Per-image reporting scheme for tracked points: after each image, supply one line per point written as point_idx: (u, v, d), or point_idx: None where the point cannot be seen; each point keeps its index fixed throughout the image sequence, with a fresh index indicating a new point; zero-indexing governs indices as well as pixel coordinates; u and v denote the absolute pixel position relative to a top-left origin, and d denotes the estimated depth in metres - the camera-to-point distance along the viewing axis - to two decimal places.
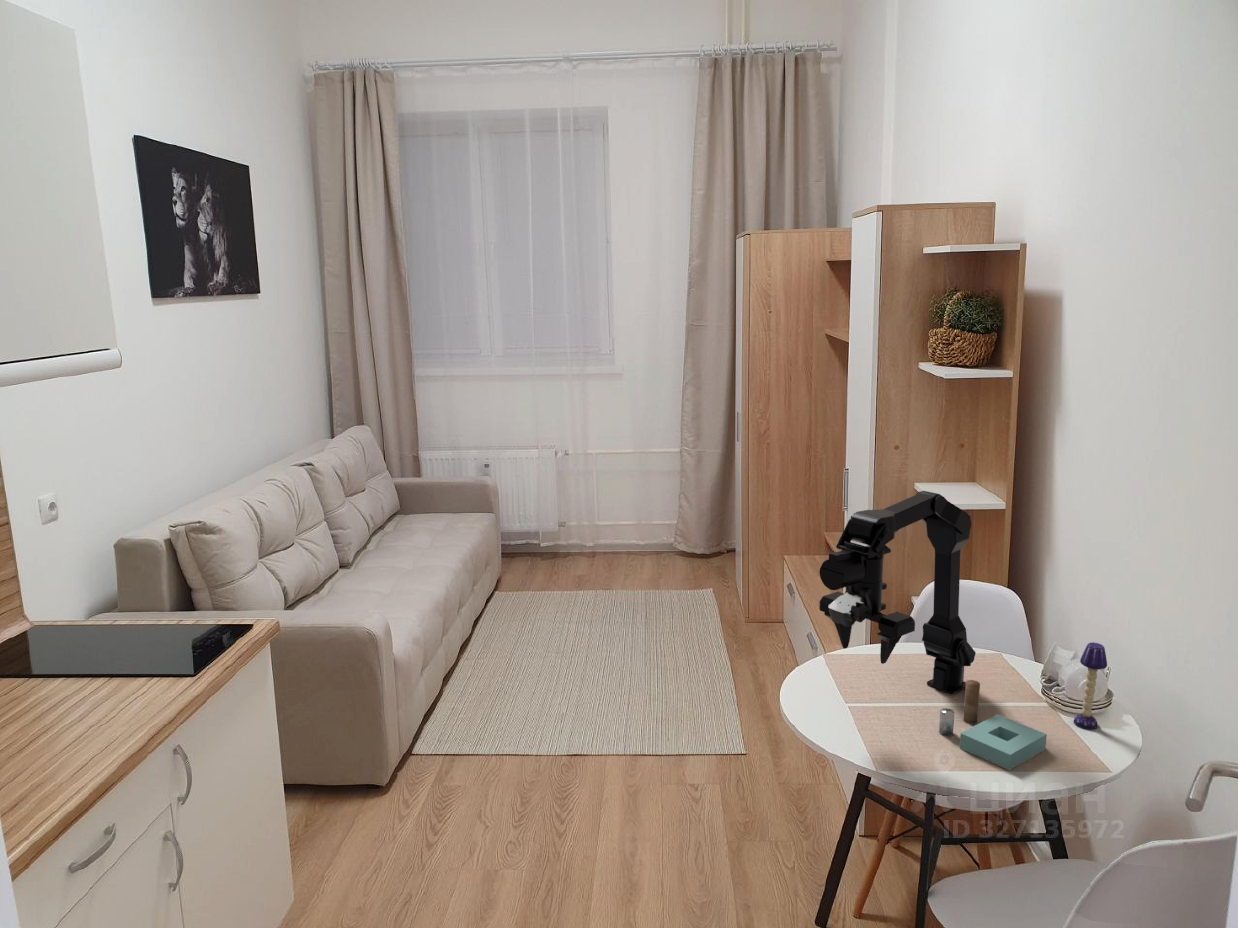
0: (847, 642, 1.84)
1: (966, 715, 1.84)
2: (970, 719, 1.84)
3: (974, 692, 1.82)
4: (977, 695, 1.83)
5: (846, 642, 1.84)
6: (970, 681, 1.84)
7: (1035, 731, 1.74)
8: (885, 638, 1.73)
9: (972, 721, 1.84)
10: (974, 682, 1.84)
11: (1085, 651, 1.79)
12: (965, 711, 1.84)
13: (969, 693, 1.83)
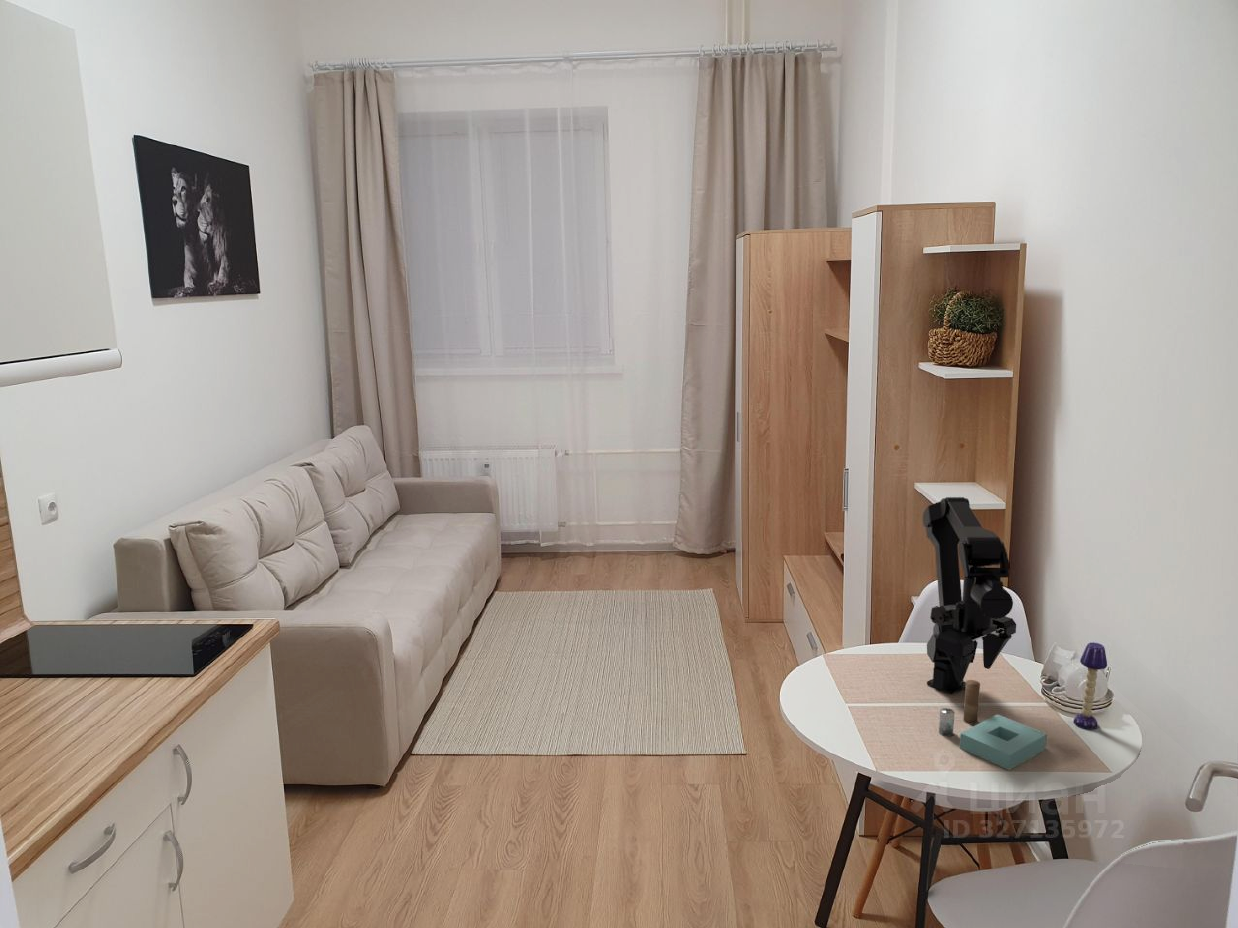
0: (988, 663, 1.85)
1: (966, 715, 1.84)
2: (970, 719, 1.84)
3: (974, 692, 1.82)
4: (977, 695, 1.83)
5: (986, 662, 1.85)
6: (970, 681, 1.84)
7: (1035, 731, 1.74)
8: None
9: (972, 721, 1.84)
10: (974, 682, 1.84)
11: (1085, 651, 1.79)
12: (965, 711, 1.84)
13: (969, 693, 1.83)
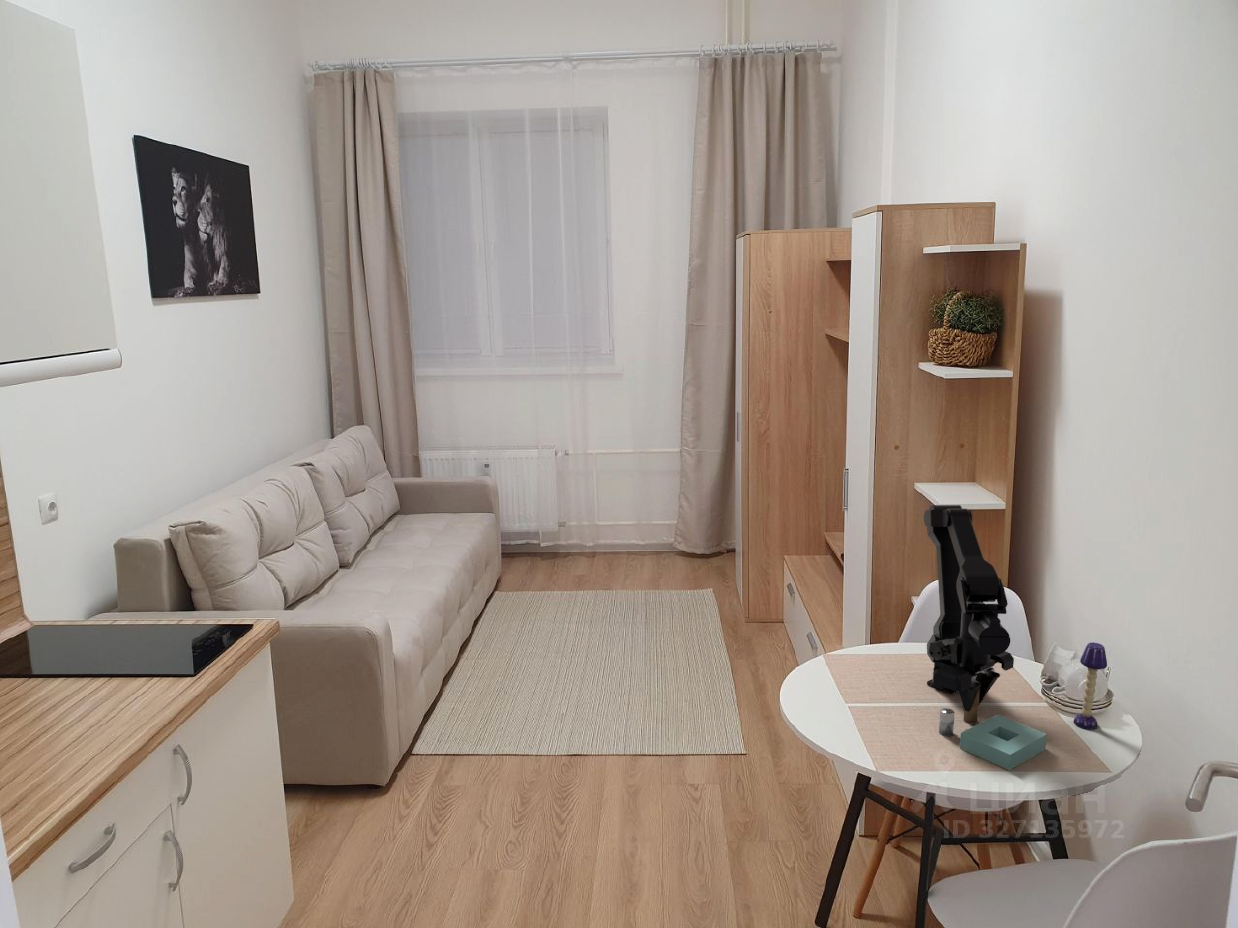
0: None
1: (966, 715, 1.84)
2: (970, 719, 1.84)
3: None
4: (977, 695, 1.83)
5: None
6: None
7: (1035, 731, 1.74)
8: None
9: (972, 721, 1.84)
10: None
11: (1085, 651, 1.79)
12: (965, 711, 1.84)
13: None
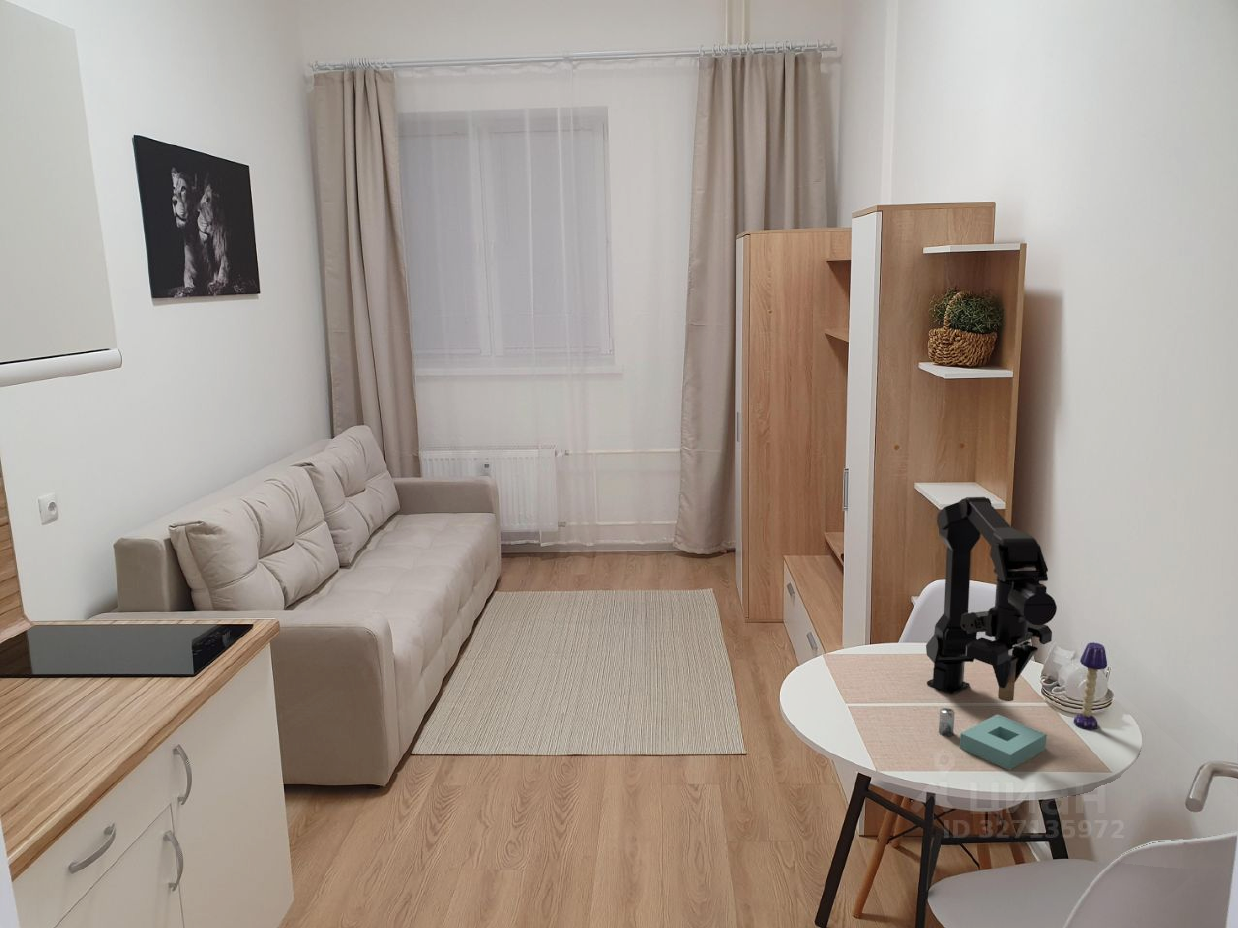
0: None
1: (1001, 692, 1.71)
2: (1006, 696, 1.71)
3: None
4: (1013, 670, 1.70)
5: None
6: None
7: (1035, 731, 1.74)
8: None
9: (1008, 698, 1.71)
10: None
11: (1085, 651, 1.79)
12: (1000, 687, 1.71)
13: None
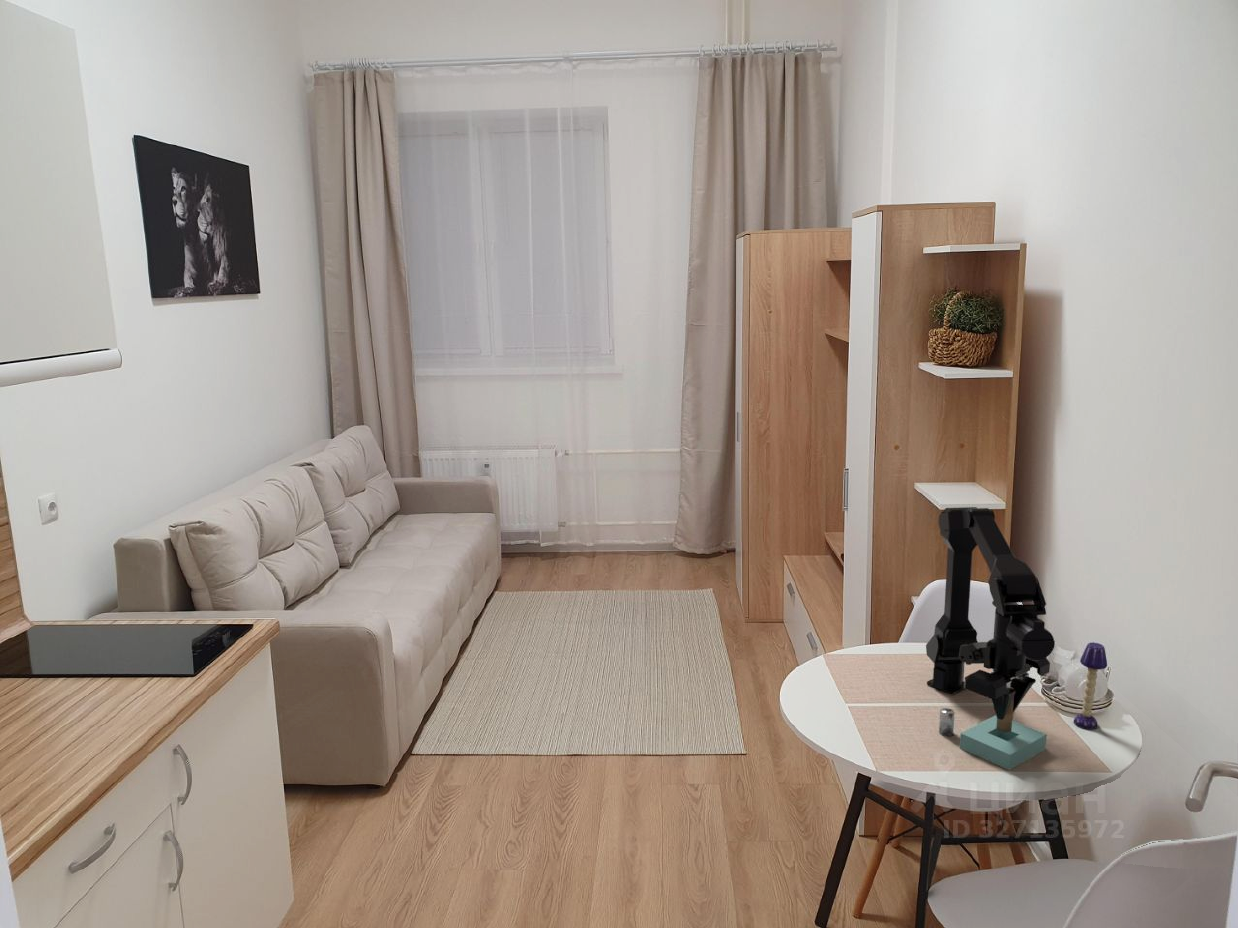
0: None
1: (999, 723, 1.73)
2: (1004, 727, 1.72)
3: None
4: (1011, 702, 1.71)
5: None
6: None
7: (1035, 731, 1.74)
8: None
9: (1006, 730, 1.72)
10: None
11: (1085, 651, 1.79)
12: (998, 719, 1.73)
13: None
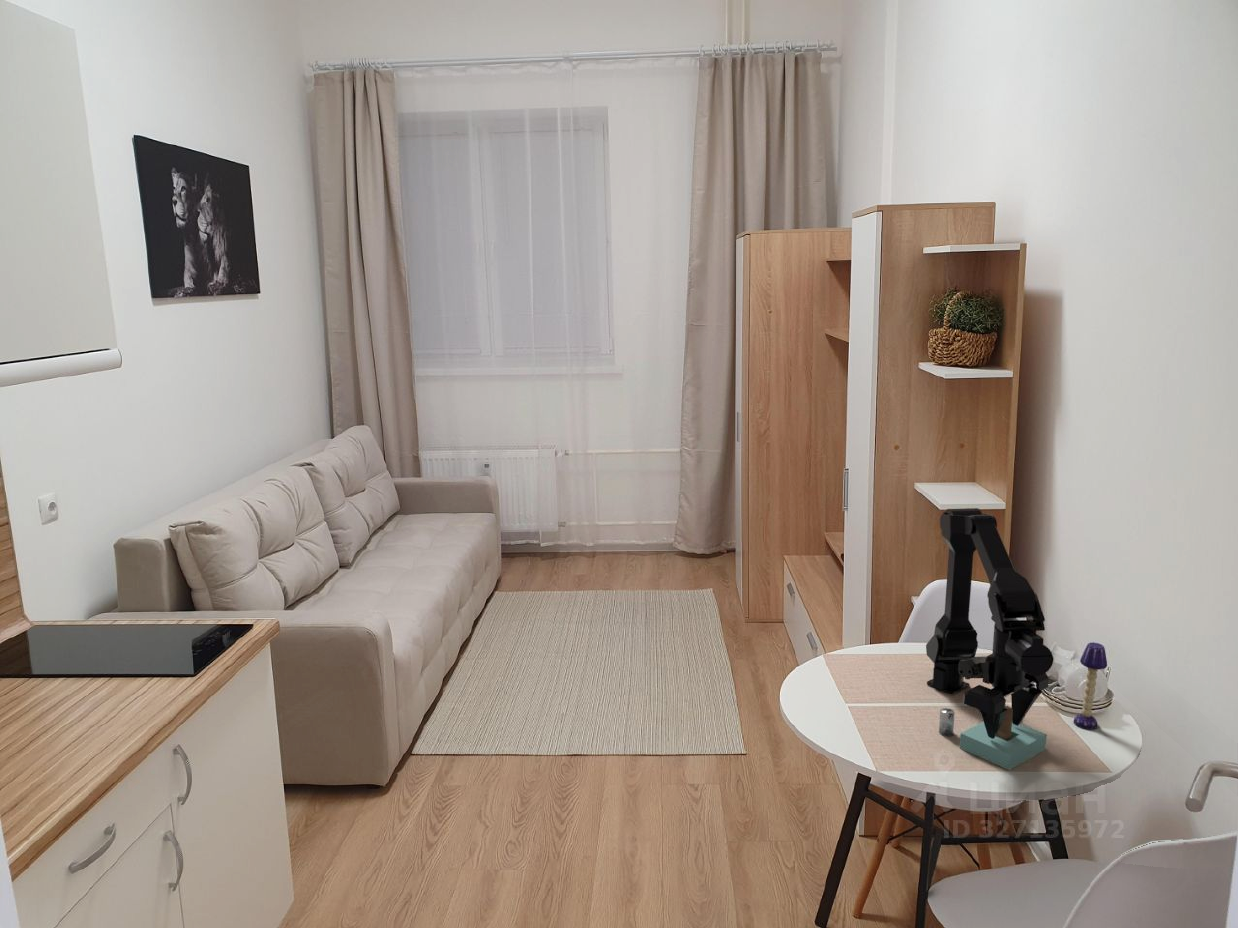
0: (1017, 720, 1.75)
1: None
2: None
3: (1006, 719, 1.72)
4: (1010, 722, 1.72)
5: (1015, 719, 1.75)
6: None
7: (1035, 731, 1.74)
8: None
9: None
10: (1006, 707, 1.73)
11: (1085, 651, 1.79)
12: None
13: None
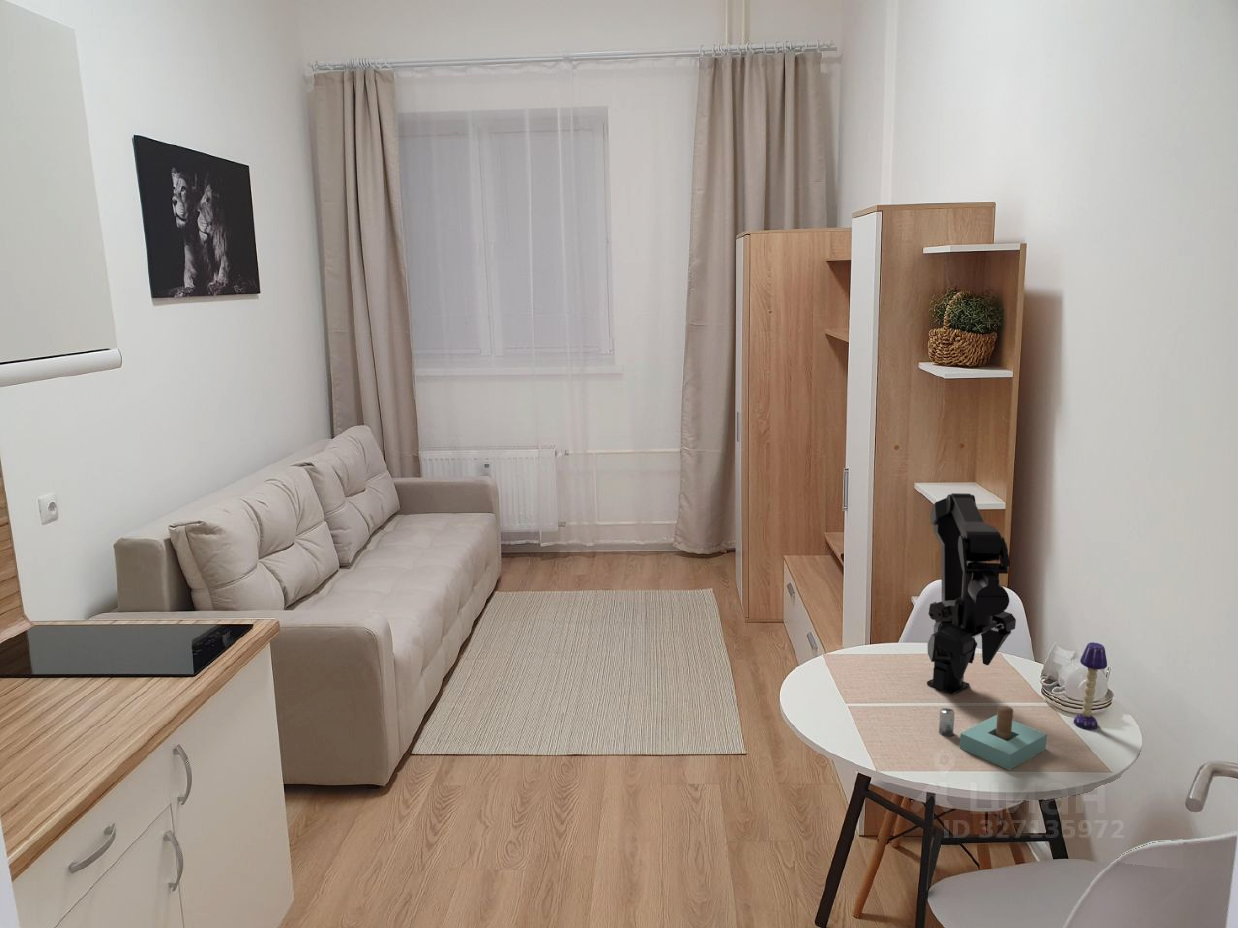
0: (987, 660, 1.81)
1: None
2: None
3: (1007, 719, 1.72)
4: (1010, 722, 1.72)
5: (985, 659, 1.81)
6: (1002, 707, 1.73)
7: (1035, 731, 1.74)
8: None
9: None
10: (1006, 708, 1.73)
11: (1085, 651, 1.79)
12: None
13: (1001, 720, 1.72)
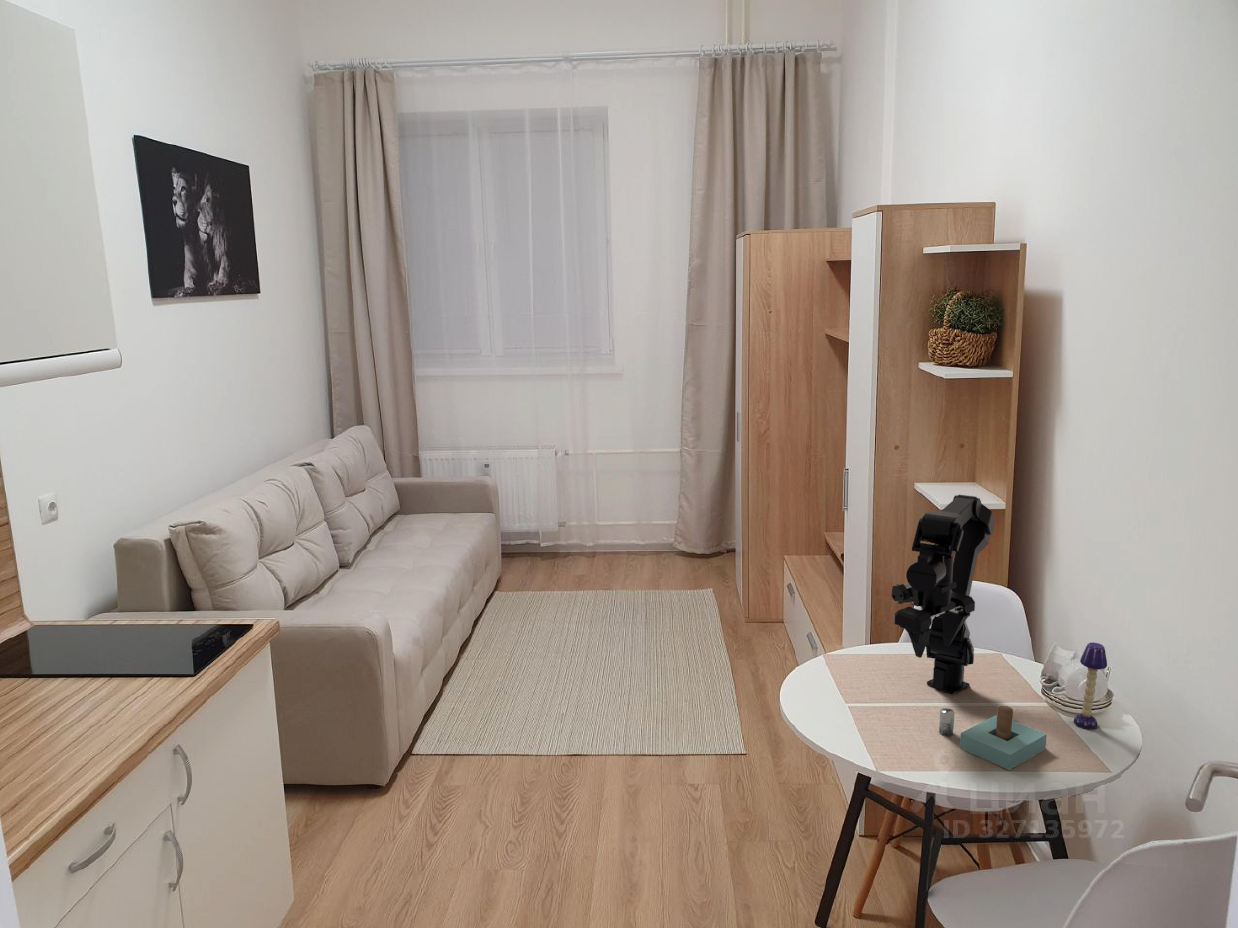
0: (947, 640, 1.90)
1: None
2: None
3: (1006, 719, 1.72)
4: (1010, 722, 1.72)
5: (946, 640, 1.90)
6: (1002, 707, 1.73)
7: (1035, 731, 1.74)
8: None
9: None
10: (1006, 708, 1.73)
11: (1085, 651, 1.79)
12: None
13: (1001, 720, 1.72)
